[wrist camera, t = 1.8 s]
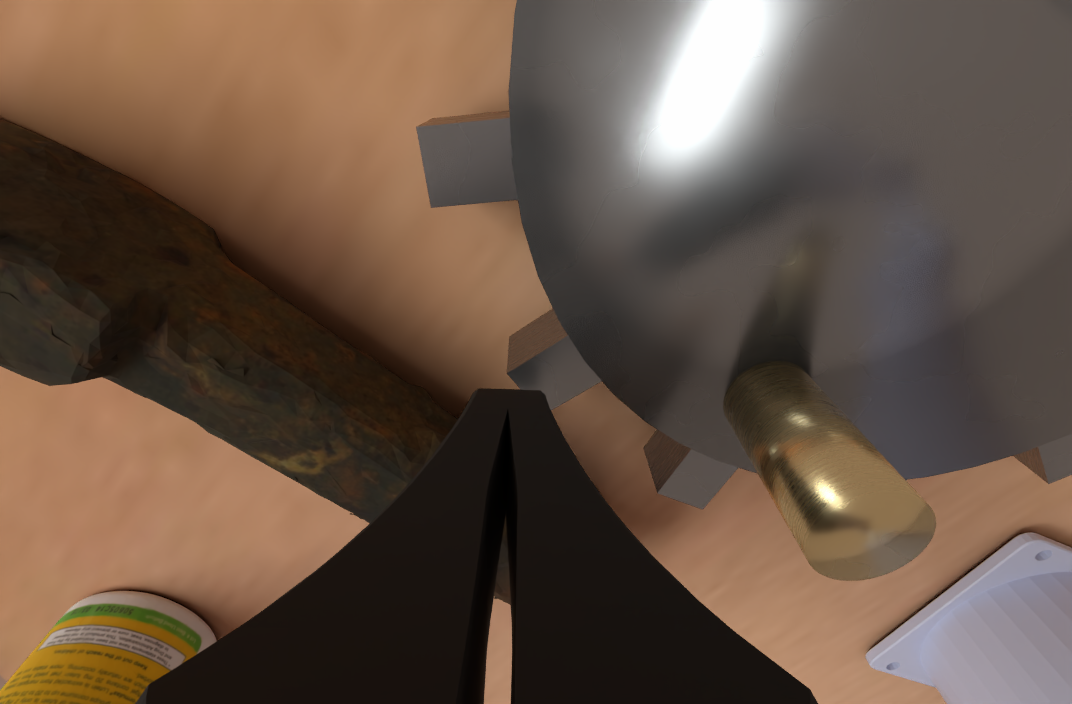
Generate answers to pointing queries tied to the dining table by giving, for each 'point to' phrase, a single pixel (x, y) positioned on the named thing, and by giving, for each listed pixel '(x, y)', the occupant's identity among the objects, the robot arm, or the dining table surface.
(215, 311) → the dark brown rough bar
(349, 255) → the dining table surface
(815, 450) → the sprocket
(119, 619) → the supplement bottle
